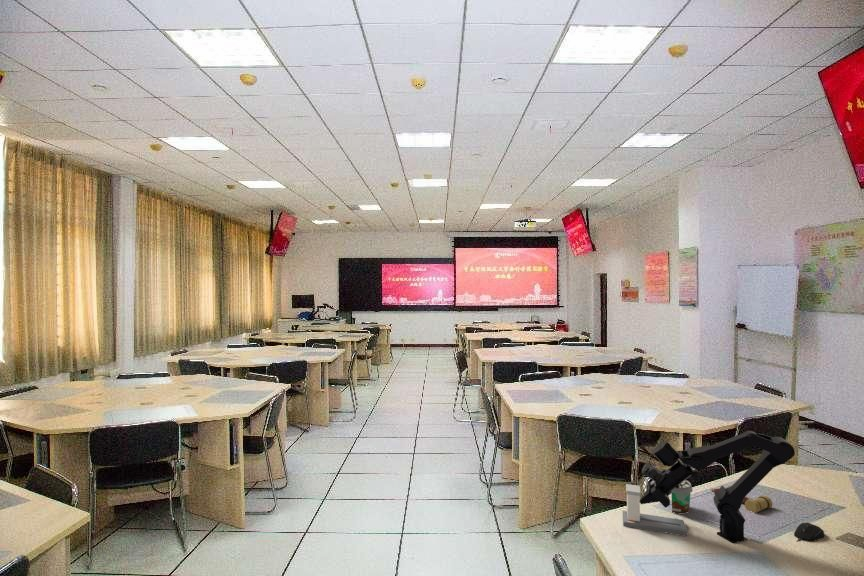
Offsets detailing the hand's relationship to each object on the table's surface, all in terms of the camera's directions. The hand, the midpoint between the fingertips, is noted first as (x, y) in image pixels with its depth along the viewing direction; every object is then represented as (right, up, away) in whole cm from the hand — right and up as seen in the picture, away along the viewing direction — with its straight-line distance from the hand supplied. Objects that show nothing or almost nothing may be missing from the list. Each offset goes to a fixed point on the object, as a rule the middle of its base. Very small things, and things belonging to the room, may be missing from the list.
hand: (640, 502), depth 168 cm
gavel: (+47, -8, +18) cm, 51 cm away
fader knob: (-2, -5, +1) cm, 6 cm away
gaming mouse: (+52, -8, -9) cm, 54 cm away
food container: (+21, -8, +10) cm, 24 cm away
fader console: (+4, -7, -2) cm, 8 cm away
